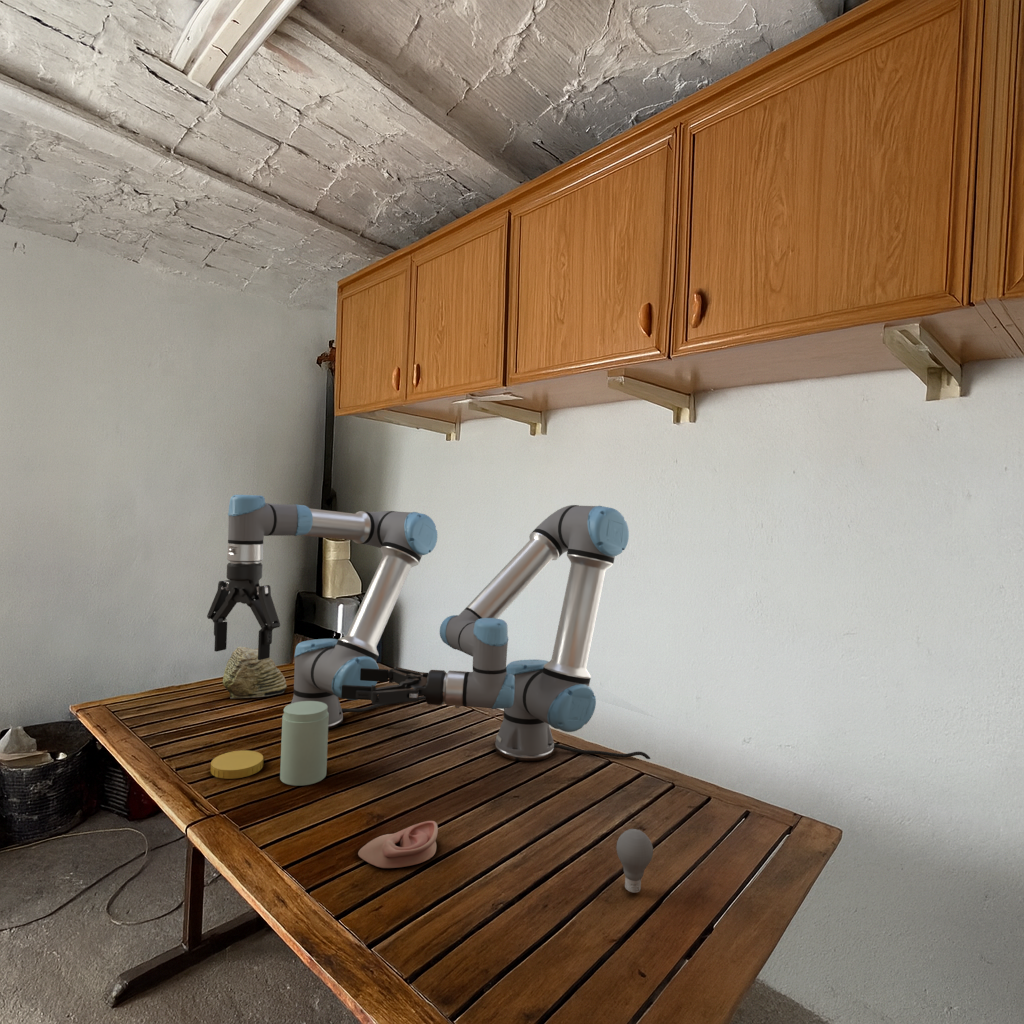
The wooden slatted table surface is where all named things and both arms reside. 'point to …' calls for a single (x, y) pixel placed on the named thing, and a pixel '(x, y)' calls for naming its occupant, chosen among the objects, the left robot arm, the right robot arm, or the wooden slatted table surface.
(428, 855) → the anatomical model
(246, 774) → the lid
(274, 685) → the fossil
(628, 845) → the light bulb
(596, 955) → the wooden slatted table surface
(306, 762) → the jar
